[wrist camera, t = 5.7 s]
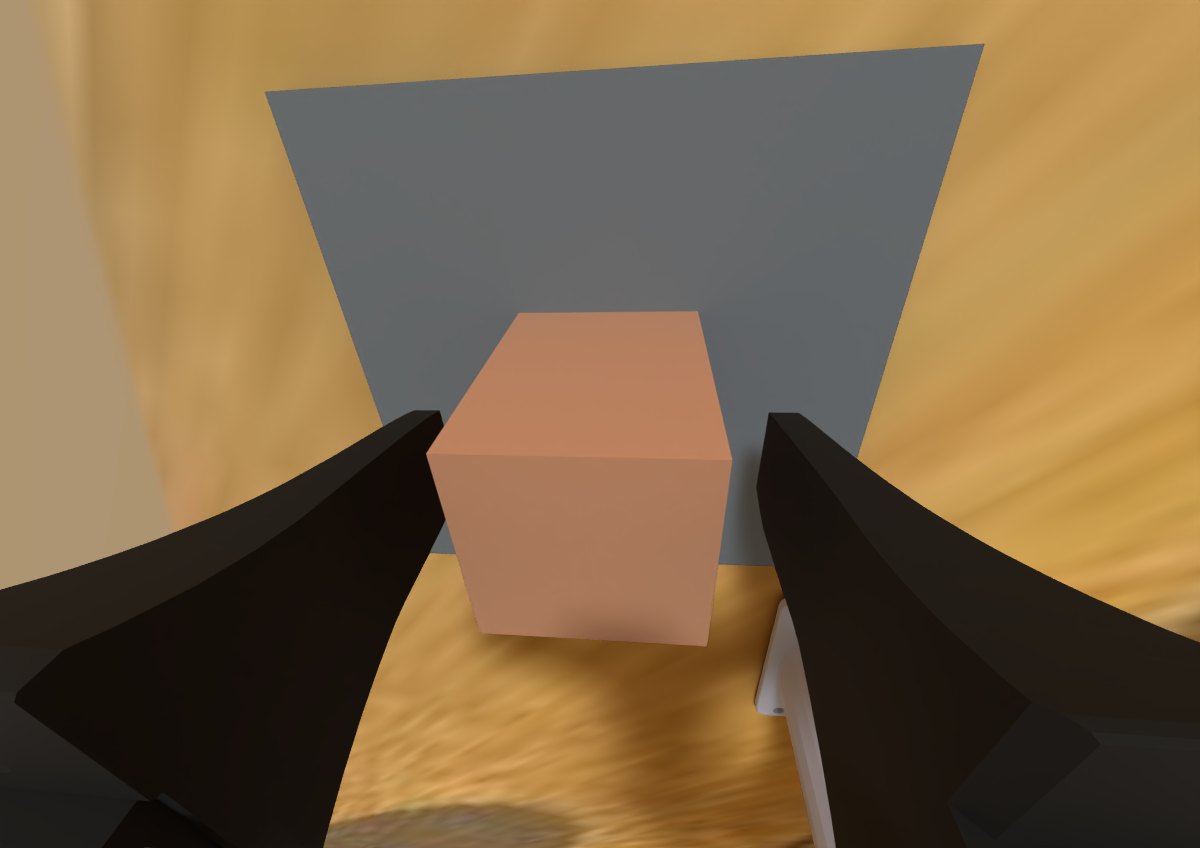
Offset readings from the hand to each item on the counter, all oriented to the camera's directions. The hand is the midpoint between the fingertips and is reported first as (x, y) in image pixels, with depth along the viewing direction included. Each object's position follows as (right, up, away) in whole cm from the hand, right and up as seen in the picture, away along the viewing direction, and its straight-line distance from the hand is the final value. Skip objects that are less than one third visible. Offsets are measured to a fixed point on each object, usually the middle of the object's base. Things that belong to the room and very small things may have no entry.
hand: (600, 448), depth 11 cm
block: (0, +2, +2) cm, 3 cm away
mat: (0, +2, +3) cm, 3 cm away
